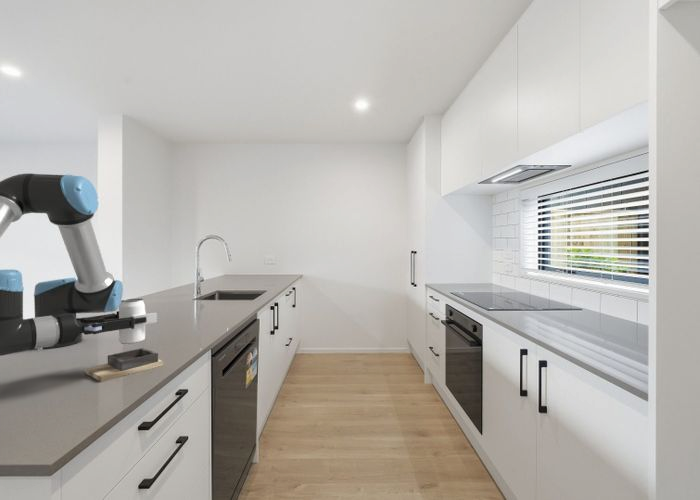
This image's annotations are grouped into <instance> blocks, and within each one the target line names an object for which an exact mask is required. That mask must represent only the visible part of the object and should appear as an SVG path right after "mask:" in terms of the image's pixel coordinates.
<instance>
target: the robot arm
mask: <svg viewBox="0 0 700 500" xmlns="http://www.w3.org/2000/svg"><path fill="white" fill-rule="evenodd" d="M98 199H99V196H98V192H97V189H96V187H95V186H94V184H93V183H92V182H91V181H90V180H89V179H88V178H86V177H84V176H81V175H73V174H47V173H46V174H45V173H20V174H19V173H18V174H15V175H11V176H9V177H7V178H3V180H1V181H0V238H2V236H3V235H4V233H5V232H6V230H7V229H8V228H9V227H10V225H12V223H15V222H17V221H19V220H20V219H21V218H22V217H23V215H27V214H46V215H47V218H48V220H49V222H50V223H51V224H53V225H55V226H57V227H58V229H59V232H60V235H61V238H62V241H63V243H64V245H65V249H66V250H67V254H68V256H69V259H70V262H71V265H72V267H73V269H74V272H75V275H76V277H67V278H60V279H59V278H58V279H53V280H45V281H40V282H38V283H36V285H35V287H34V293H33V299H34V300H33V302H34V317H30V318H24V289H25V288H24V286H23V276H22V275H23V274H22V273H21V271H19V270H18V269H0V357H1V356H6V355H11V354H17V353H21V352H27V351H33V350H37V351H38V352H39V351H40V352H41V351H43V349H44V350H45V349H56V348H61V347H66V346H70V345H75V344H78V343H80V342H82V341H83V335H91V334H92V335H97V334H101V333H106V332H112V331H114V332H115V331H119V330H121V329H127V328H131V329H134V326H136V325H142V324H145V325H148V324H154V323H157V322H158V313H157V312H151V313H147V310H145V314H143V315H137V316H132V317H128V318H119V305H120V303H121V300H123V299H122V298H123V292H124V291H123V290H124V284H123V282H122V281H121V280H118V279H116V280H115V278H114V276H113V274H112V273H110V272H109V271H107V270H106V269H107V268H106V266H105V263H104V259H103V257H102V254H101V249H100V246H99V243H98V240H97V238H96V234H95V230H94V227H93V224H92V220H91V219H93V218H94V216H95V213H96V212H97V211H98V208H99V201H98ZM76 278H77V279H76ZM117 310H118V311H117ZM115 311H116V313H114V312H115ZM109 312H111V313H109ZM94 313H95V314H96V313H97V314H98V313H104V314H103V315H94V316H90V317H89V316H88V317H80V318H79V317H77V314H94ZM105 313H108V314H105Z"/></svg>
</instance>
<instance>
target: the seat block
mask: <svg viewBox="0 0 700 500" xmlns="http://www.w3.org/2000/svg"><path fill="white" fill-rule="evenodd" d="M161 366H162V367H163V366H164V361H163V360H162V359H160V358H159V353H158V352H155V351H152V350H150V349H147V348H145V347H141V348H136V349H132V350H126V351H122V352H118V353H113V354H109V355H107V363H104V364H100V365H96V366H91V367H88V368H85V369H84V370H85V374H87V375H88V376H90V377H92V378H94V379H95V380H97V381H99V382H100V383H102V382H105V381H110V380H114V379H117V377H118V378H122V377H125V376H129V375H132V374H136V373H139V372H143V371H146V370H151V369H155V368H158V367H161ZM128 374H129V375H128ZM124 375H125V376H124Z"/></svg>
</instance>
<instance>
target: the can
mask: <svg viewBox="0 0 700 500" xmlns="http://www.w3.org/2000/svg"><path fill="white" fill-rule="evenodd" d="M118 311H119V318H128V317H132V316H137V315H143V314H145V311H146V304H145V302H144V299H143V298H128V299H122V300H121V303H120V305H119V308H118ZM118 336H119V337H118V341H119V343H120V344H123V345H131V344H137V343H141V342H143V341H145V339H146V324H142V325H136V326H134V329H131V328H127V329H121V330H118Z"/></svg>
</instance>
